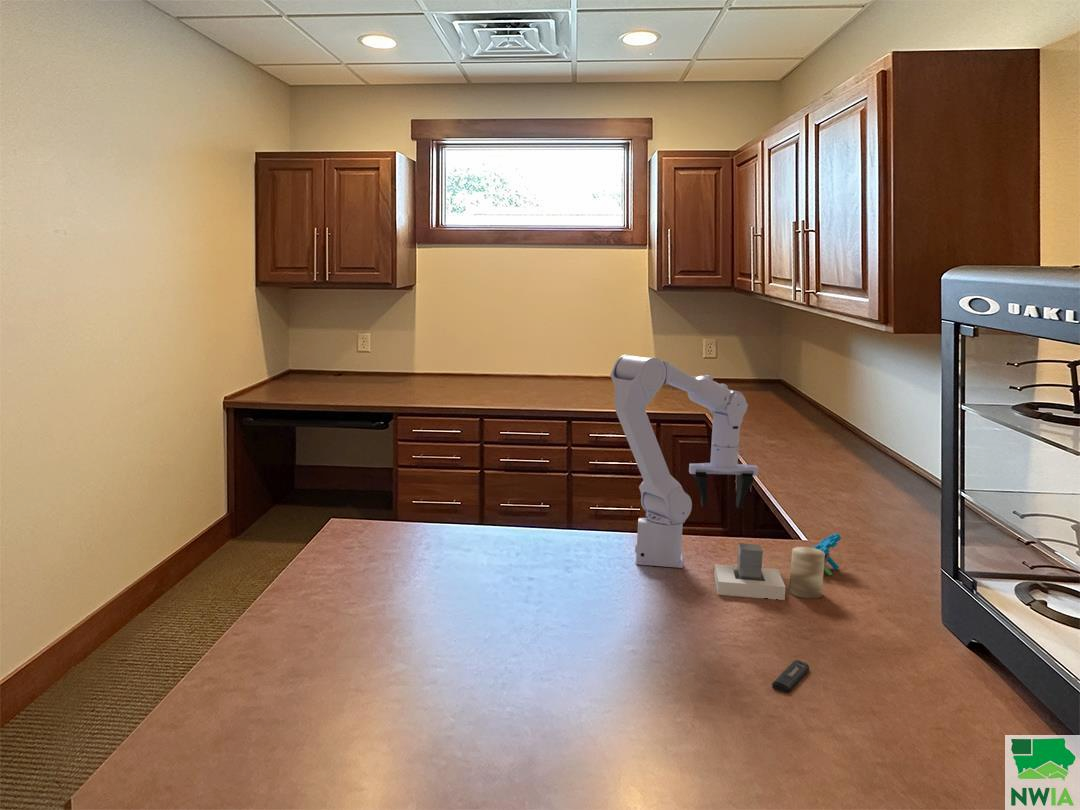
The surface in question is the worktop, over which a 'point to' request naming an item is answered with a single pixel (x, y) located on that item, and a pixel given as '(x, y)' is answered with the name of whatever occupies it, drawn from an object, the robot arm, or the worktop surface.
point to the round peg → (807, 572)
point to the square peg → (749, 562)
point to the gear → (825, 546)
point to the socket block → (749, 583)
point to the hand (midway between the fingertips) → (721, 506)
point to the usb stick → (790, 676)
